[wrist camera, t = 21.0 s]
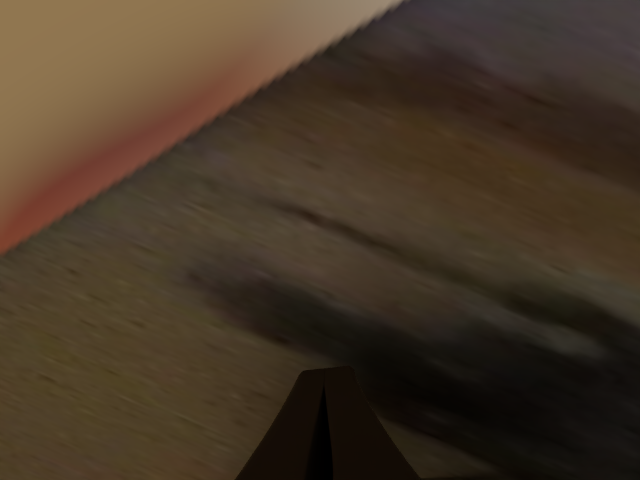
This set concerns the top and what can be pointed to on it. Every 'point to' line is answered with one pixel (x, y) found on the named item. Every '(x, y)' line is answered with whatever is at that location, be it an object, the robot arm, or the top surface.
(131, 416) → the top surface
